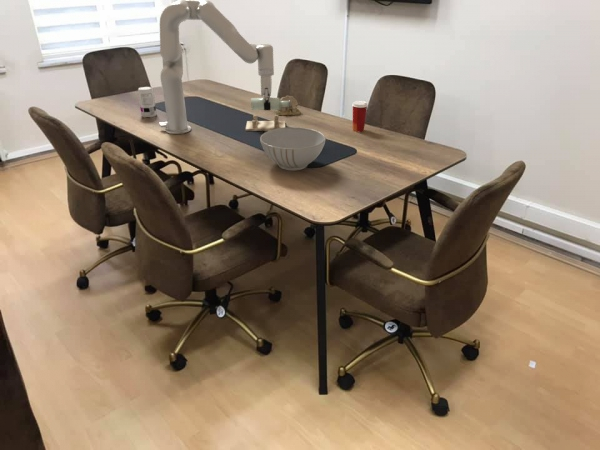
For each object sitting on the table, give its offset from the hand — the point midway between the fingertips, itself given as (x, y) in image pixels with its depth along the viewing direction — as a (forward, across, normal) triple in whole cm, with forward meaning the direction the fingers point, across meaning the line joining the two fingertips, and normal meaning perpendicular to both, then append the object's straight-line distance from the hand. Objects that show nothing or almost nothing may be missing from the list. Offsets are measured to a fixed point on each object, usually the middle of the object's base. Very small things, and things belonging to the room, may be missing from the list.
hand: (267, 107), depth 235 cm
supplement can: (+9, -21, -66) cm, 70 cm away
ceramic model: (+10, -25, +10) cm, 29 cm away
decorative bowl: (+10, +52, +12) cm, 54 cm away
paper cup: (+10, +7, +46) cm, 47 cm away
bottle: (+1, 0, +2) cm, 2 cm away
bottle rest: (+10, 0, -1) cm, 10 cm away
